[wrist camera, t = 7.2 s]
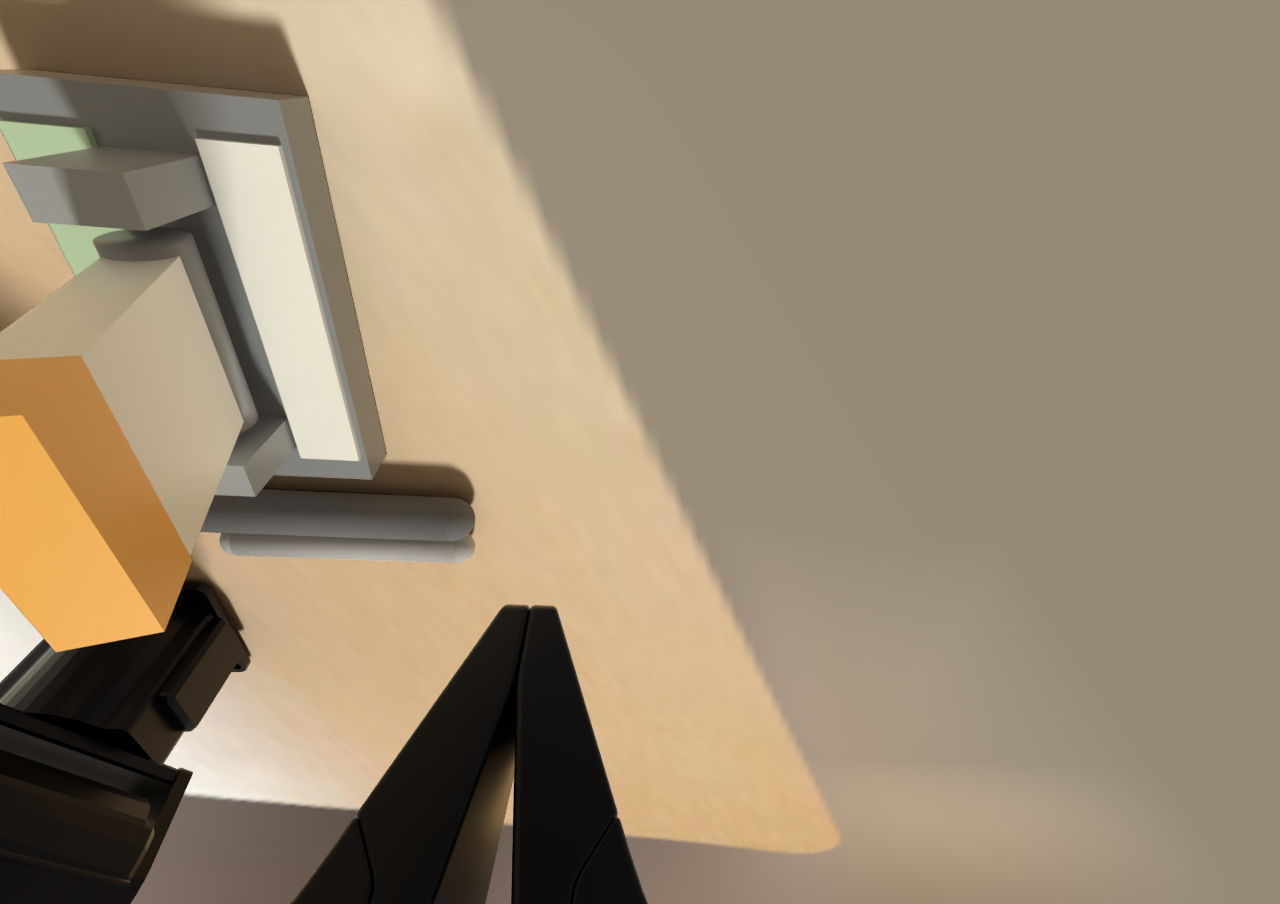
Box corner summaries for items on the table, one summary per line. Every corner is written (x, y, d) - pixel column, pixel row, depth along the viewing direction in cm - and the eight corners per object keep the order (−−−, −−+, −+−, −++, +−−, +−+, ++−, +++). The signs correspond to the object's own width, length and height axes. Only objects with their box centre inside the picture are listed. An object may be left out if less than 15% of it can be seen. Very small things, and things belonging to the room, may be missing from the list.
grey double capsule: (209, 537, 24) (182, 568, 23) (178, 476, 22) (147, 505, 21) (483, 547, 25) (475, 577, 24) (477, 489, 23) (468, 519, 22)
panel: (200, 445, 21) (116, 523, 18) (28, 69, 14) (-168, 72, 11) (386, 454, 22) (341, 532, 18) (308, 96, 15) (210, 108, 11)
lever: (191, 409, 18) (52, 661, 11) (111, 227, 14) (-168, 413, 7) (263, 403, 18) (178, 637, 11) (201, 227, 15) (25, 399, 8)
